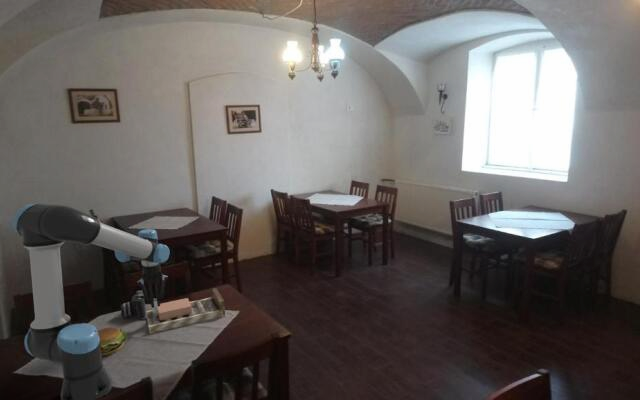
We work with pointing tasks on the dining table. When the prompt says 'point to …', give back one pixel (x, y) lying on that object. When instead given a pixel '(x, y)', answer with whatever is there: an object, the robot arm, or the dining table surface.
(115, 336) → the food
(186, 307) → the slab
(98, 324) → the dining table surface
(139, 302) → the camera
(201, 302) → the roller bed
